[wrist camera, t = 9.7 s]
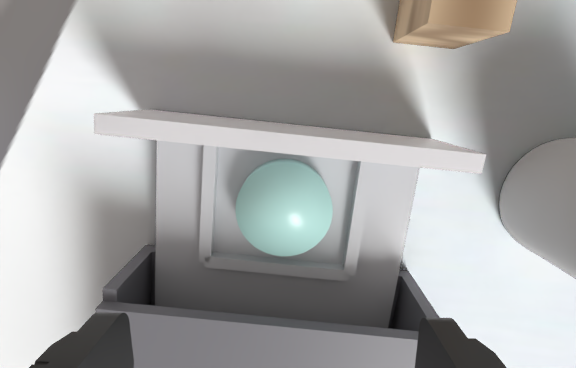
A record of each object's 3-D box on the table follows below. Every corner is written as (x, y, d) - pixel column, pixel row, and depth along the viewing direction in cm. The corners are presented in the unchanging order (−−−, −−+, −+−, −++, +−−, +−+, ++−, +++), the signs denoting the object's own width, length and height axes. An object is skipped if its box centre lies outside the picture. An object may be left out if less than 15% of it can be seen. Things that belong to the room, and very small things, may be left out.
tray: (432, 138, 24) (486, 154, 17) (393, 332, 28) (425, 406, 21) (149, 109, 24) (93, 113, 17) (147, 308, 27) (102, 375, 21)
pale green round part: (335, 163, 22) (339, 169, 21) (323, 248, 24) (326, 260, 22) (242, 154, 22) (238, 158, 21) (236, 240, 24) (232, 251, 22)
